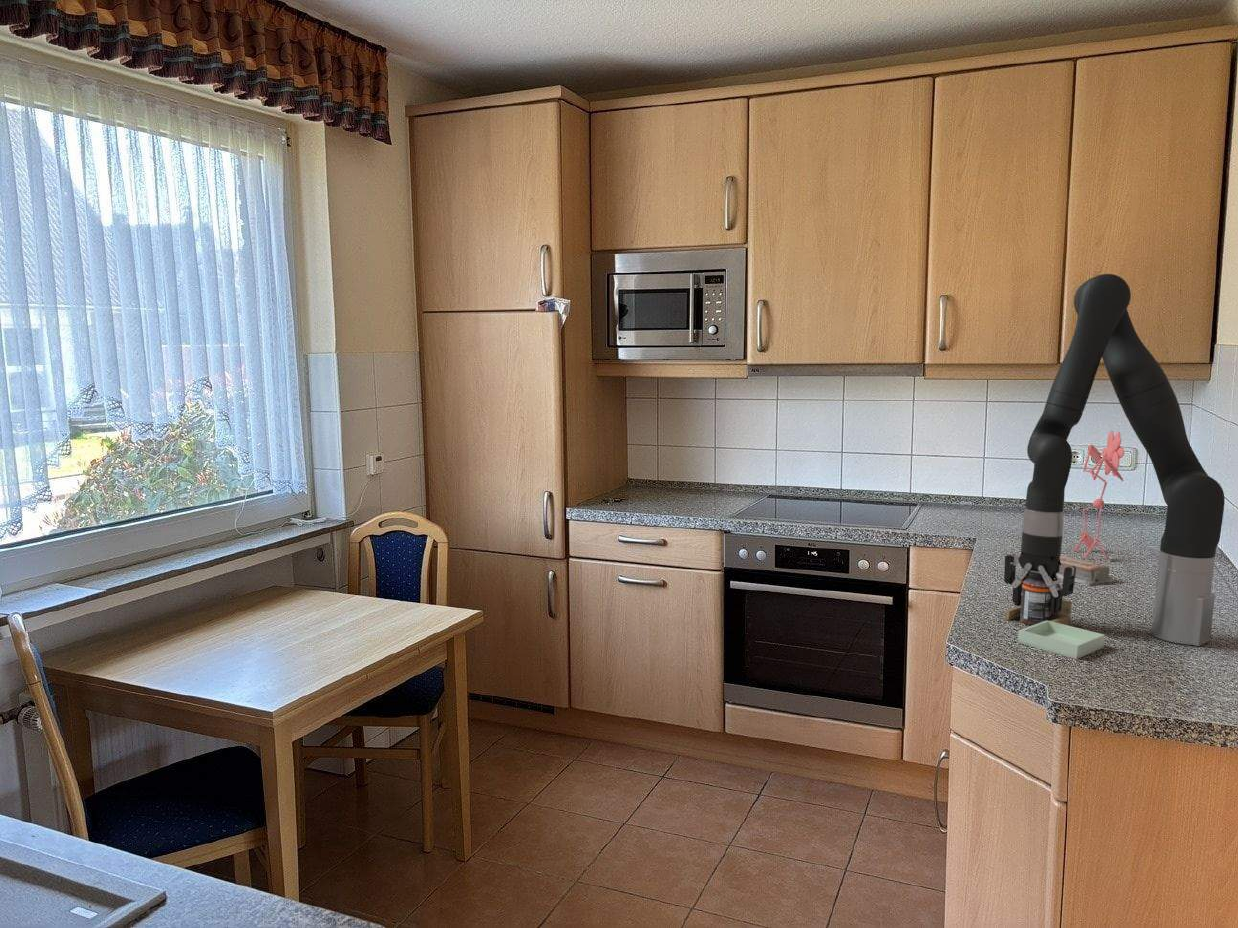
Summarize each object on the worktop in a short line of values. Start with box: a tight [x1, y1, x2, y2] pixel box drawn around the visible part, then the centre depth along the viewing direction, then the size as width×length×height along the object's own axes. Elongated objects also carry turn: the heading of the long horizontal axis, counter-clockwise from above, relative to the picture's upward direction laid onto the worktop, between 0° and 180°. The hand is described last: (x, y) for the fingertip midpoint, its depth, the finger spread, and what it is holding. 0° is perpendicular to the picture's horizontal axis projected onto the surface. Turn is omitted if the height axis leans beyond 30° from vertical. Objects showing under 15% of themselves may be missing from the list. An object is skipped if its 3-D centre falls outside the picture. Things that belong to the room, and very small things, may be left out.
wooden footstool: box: [1004, 598, 1072, 626], centre depth 188 cm, size 10×8×5 cm
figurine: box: [1072, 430, 1125, 563], centre depth 248 cm, size 15×26×35 cm, turn 170°
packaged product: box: [1057, 554, 1114, 587], centre depth 229 cm, size 18×5×10 cm
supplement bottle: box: [1019, 570, 1053, 626], centre depth 187 cm, size 6×6×11 cm
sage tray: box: [1017, 620, 1106, 660], centre depth 174 cm, size 11×11×2 cm
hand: (1035, 609), depth 188 cm, fingers open, 7 cm apart
